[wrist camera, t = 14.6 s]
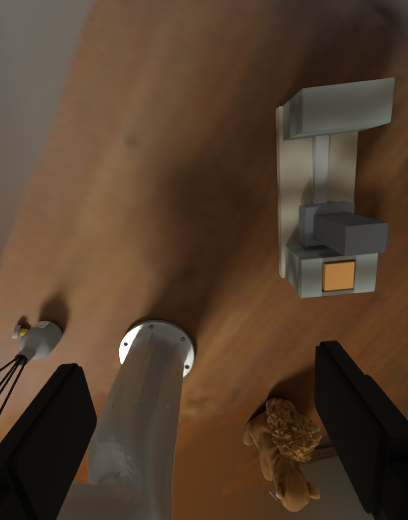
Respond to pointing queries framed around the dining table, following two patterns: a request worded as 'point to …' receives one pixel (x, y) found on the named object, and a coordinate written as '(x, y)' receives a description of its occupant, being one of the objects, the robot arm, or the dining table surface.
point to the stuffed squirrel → (284, 450)
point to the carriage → (341, 229)
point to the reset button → (337, 274)
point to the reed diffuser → (32, 347)
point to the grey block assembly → (323, 172)
